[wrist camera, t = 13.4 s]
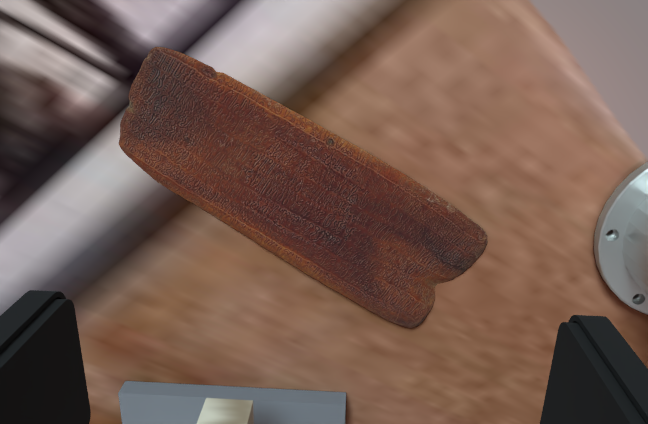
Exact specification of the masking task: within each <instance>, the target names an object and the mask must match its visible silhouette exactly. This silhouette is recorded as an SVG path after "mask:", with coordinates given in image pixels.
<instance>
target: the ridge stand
mask: <svg viewBox="0 0 648 424" xmlns="http://www.w3.org/2000/svg"><path fill="white" fill-rule="evenodd" d="M118 395H119V402H120V410H121V417H122V424H197V421H198V418H199V416H200V413H201V410H202V408H203V405H204V402H205V400H206V398H218V399H236V400H253V414H254V424H345V411H346V392H327V391H308V390H288V389H269V388H250V387H231V386H212V385H192V384H173V383H154V382H135V381H125V383H124V384H123V386H122V388H121V389H120V391H119V393H118Z"/></svg>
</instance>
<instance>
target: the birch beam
mask: <svg viewBox="0 0 648 424" xmlns="http://www.w3.org/2000/svg"><path fill="white" fill-rule="evenodd" d="M197 424H254V414H253V400H236V399H218V398H206V400H205V402H204V405H203V408H202V410H201V413H200V416H199V418H198V421H197Z"/></svg>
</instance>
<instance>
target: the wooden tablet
mask: <svg viewBox="0 0 648 424" xmlns="http://www.w3.org/2000/svg"><path fill="white" fill-rule="evenodd" d="M129 100H130V106H129V107H128V108H127V109H126V111H125V113H124V116H123V118H122V120H121V123H120V140H119V145H120V147H121V149H122V150H123V151H124V153H125V154H126V155H127V156H128V157H129V158H131V159H132V160H133V161H134V162H135V163H136V164H137V165H138V166H139V167H141V168H142V169H143V170H144V171H145V172H146V173H147V174H149V175H150V176H151V177H152V178H153V179H154V180H156V181H157V182H158V183H160V184H161V185H163V186H165V187H166V188H167V189H169V190H171V191H172V192H174V193H176V194H178V195H180V196H181V197H183V198H184V199H186V200H188V201H190V202H192V203H194V204H195V205H197V206H198V207H200V208H202V209H203V210H205V211H207V212H208V213H210V214H212V215H213V216H215V217H216V218H218V219H220V220H221V221H223V222H224V223H226V224H228V225H230V226H231V227H233V228H234V229H235V230H238V231H239V232H241V233H242V234H244V235H246V236H247V237H249V238H250V239H252V240H253V241H255V242H256V243H258V244H259V245H261V246H262V247H264V248H266V249H267V250H269V251H271V252H273V253H274V254H276V255H277V256H279V257H280V258H282V259H284V260H285V261H287V262H288V263H290V264H292V265H293V266H295V267H297V268H298V269H300V270H301V271H303V272H304V273H306V274H308V275H309V276H311V277H313V278H315V279H316V280H318V281H320V282H321V283H323V284H324V285H326V286H328V287H329V288H331V289H333V290H335V291H337V292H339V293H341V294H342V295H344V296H346V297H348V298H349V299H351V300H352V301H354V302H356V303H357V304H359V305H361V306H363V307H364V308H367V309H368V310H369V311H371V312H373V313H375V314H377V315H379V316H380V317H382V318H384V319H386V320H388V321H391V322H393V323H396V324H398V325H400V326H404V327H409V328H413V327H416V326H418V325H419V324H421V323H422V322H423V320H424V319H425V318H426V316H427V314H428V312H430V309H431V308H432V306H433V303H434V300H435V286H436V285H437V284H440V283H444V282H446V281H450V280H452V279H454V278H455V277H457V276H459V275H460V274H462V273H463V272H464V271H465V270H466V269H467V268H469V267H470V266H471V265H472V264H473V263H474V262H475V261H476V259H477V258H478V257H479V256H480V255H481V254H482V253H483V251H484V249H485V247H486V245H487V235H486V233H485V232H484V230H483V229H482V228H481V227H479V226H478V225H477V224H476V223H474V222H473V221H472V220H471V219H469V218H467V217H466V216H465V215H464V214H462V213H461V212H460V211H459V210H457V209H456V208H455V207H453V206H452V205H451V204H449V203H448V202H446V201H445V200H443V199H441V198H440V197H438V196H437V195H436V194H434V193H432V192H431V191H429V190H428V189H427V188H425V187H424V186H422V185H421V184H419V183H417V182H416V181H414V180H413V179H411V178H410V177H408V176H406V175H405V174H403V173H401V172H400V171H398V170H396V169H394V168H392V167H391V166H390V165H388V164H386V163H384V162H383V161H381V160H379V159H378V158H376V157H374V156H373V155H371V154H369V153H368V152H366V151H364V150H363V149H361V148H359V147H357V146H355V145H354V144H352V143H350V142H348V141H346V140H344V139H342V138H340V137H339V136H337V135H335V134H334V133H332V132H330V131H328V130H326V129H324V128H323V127H321V126H319V125H317V124H316V123H314V122H312V121H311V120H309V119H307V118H305V117H303V116H301V115H300V114H298V113H296V112H294V111H292V110H290V109H289V108H287V107H285V106H283V105H281V104H280V103H278V102H276V101H274V100H272V99H270V98H268V97H266V96H265V95H263V94H261V93H259V92H257V91H256V90H254V89H252V88H250V87H248V86H246V85H244V84H242V83H241V82H239V81H237V80H235V79H233V78H232V77H230V76H228V75H226V74H224V73H220V72H216V71H215V70H214V69H213V68H212V67H210V66H208V65H206V64H204V63H202V62H200V61H198V60H196V59H194V58H192V57H189V56H187V55H185V54H182V53H180V52H177V51H174V50H171V49H167V48H164V47H155V48H153V49H152V50H151V51H150V52H149V54H148V56H147V58H146V59H145V60H144V61H143V63H142V66H141V69H140V71H139V73H138V75H137V76H136V78H135V80H134V82H133V84H132V86H131V90H130V92H129Z"/></svg>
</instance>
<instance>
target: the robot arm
mask: <svg viewBox="0 0 648 424" xmlns="http://www.w3.org/2000/svg"><path fill="white" fill-rule="evenodd" d="M608 231H610V232H608ZM607 232H608V233H607ZM594 254H595V259H596V265H597V267H598V269H599V272H600V274H601V276H602V278H603V280H604V281H605V282H606V284H607V285H608V286H609V288H610V289H611V290H612V291H613V292H614V293H615V294H616V295H617V296H618V298H619V299H620V300H621V301H623V302H624V303H626V304H627V305H628V306H630V307H631V308H633V309H635V310H638V311H640V312H642V313H645V314H647V315H648V162H646V163H645V164H643V165H642V166H640V167H639V168H638V169H636V170H635V171H633V172H632V173H631V174H630V175H629V176H628V177H627V178H626V179H625V180H624V181H623V182H622V183H621V184H620V185H619V186H618V187H617V188H616V189H615V191H614V192H613V193H612V195H611V196H610V198H609V199H608V200H607V202H606V204H605V206H604V208H603V210H602V212H601V214H600V216H599V219H598V222H597V226H596V230H595V235H594ZM89 421H90V405H89V398H88V392H87V386H86V379H85V373H84V366H83V360H82V353H81V347H80V341H79V334H78V328H77V321H76V315H75V308H74V304H73V302H72V301H71V300H69V299H66V297H65V296H64V294H63V293H61V292H56V291H34V290H33V291H28V292H27V293H25V294H24V295H23V296H22V297H21V298H20V299H19V300H18V301H17V302H15V303H14V304H13V305H12V306H11V307H10V308H9V309H8V310H7V311H5V312H4V313H3V314H2V315H1V316H0V424H89ZM540 424H648V369H647V368H646V366H645V365H644V364H643V362H642V361H641V360H640V359H639V357H638V356H637V355H636V354H635V352H634V351H633V350H632V348H631V347H630V346H629V345H628V343H627V342H626V341H625V339H624V338H623V337H622V336H621V334H620V333H619V332H618V331H617V329H616V328H615V327H614V325H613V324H612V323H611V322H610V320H609V319H608V318H607V317H603V316H583V315H573V316H572V317H571V318H570V320H569V322H563V323H561V324H560V326H559V330H558V334H557V339H556V345H555V350H554V355H553V360H552V365H551V370H550V375H549V380H548V385H547V390H546V396H545V401H544V406H543V411H542V416H541V421H540Z"/></svg>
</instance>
